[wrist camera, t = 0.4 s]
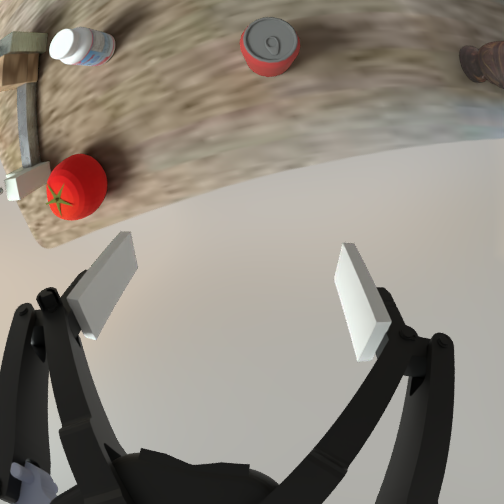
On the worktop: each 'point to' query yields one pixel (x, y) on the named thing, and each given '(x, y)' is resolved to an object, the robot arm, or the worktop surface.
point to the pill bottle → (82, 46)
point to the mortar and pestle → (484, 63)
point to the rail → (26, 93)
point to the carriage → (18, 70)
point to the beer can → (269, 46)
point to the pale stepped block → (26, 180)
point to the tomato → (76, 187)
